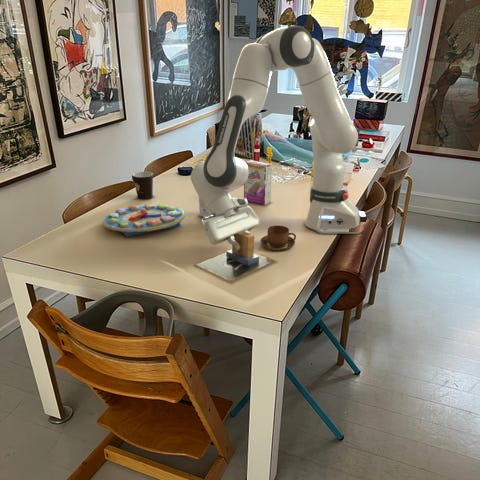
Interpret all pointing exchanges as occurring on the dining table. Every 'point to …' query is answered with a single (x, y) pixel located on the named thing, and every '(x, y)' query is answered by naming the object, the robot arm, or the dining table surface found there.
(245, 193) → the candy bar box
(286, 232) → the cup and saucer
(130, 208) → the shape sorting clock
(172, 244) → the dining table surface
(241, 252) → the eraser
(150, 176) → the coffee mug
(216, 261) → the slate board
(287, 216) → the dining table surface
